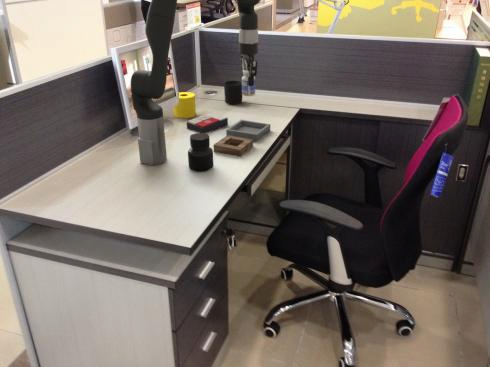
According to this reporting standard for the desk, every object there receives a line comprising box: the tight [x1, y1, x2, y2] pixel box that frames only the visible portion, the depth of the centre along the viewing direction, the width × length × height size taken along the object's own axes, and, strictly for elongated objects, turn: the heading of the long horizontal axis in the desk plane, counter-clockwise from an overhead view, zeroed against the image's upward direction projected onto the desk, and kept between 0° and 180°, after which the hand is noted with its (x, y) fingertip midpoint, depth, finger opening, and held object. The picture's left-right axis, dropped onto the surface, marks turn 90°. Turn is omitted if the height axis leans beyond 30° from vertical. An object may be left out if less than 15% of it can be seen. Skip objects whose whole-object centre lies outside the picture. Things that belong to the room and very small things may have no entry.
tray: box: [225, 119, 271, 143], centre depth 200 cm, size 14×14×3 cm
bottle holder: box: [213, 135, 254, 158], centre depth 185 cm, size 12×12×3 cm
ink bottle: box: [187, 132, 214, 173], centre depth 168 cm, size 10×9×12 cm
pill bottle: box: [241, 70, 256, 97], centre depth 191 cm, size 5×5×10 cm
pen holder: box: [223, 80, 243, 106], centre depth 239 cm, size 9×9×10 cm
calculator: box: [186, 112, 229, 134], centre depth 208 cm, size 11×4×15 cm
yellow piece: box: [173, 91, 197, 119], centre depth 222 cm, size 10×10×9 cm
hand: (248, 83), depth 191 cm, fingers closed on pill bottle, 5 cm apart
